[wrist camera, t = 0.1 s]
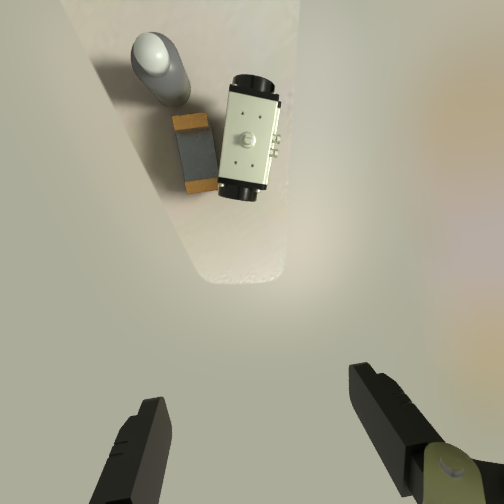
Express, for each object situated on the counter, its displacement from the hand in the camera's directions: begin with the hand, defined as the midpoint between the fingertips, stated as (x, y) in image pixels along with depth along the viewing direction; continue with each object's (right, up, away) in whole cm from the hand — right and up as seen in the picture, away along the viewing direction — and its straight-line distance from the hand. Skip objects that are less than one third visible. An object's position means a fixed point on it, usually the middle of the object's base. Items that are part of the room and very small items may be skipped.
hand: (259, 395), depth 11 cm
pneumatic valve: (-1, +20, +25) cm, 32 cm away
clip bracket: (-8, +19, +24) cm, 32 cm away
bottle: (-10, +27, +22) cm, 36 cm away
